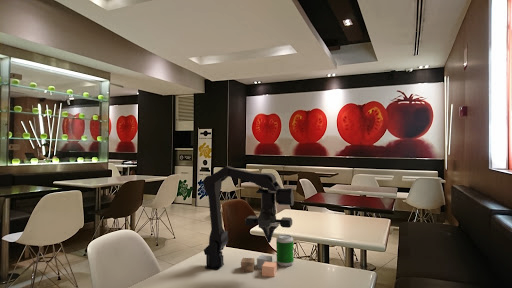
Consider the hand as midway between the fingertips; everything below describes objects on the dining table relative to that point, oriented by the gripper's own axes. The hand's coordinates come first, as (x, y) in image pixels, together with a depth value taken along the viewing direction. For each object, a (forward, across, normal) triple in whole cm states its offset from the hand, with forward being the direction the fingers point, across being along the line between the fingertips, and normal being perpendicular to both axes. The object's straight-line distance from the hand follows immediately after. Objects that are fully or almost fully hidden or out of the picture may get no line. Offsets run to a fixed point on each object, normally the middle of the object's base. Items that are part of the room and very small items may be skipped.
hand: (269, 242), depth 124 cm
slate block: (+13, -4, +7) cm, 15 cm away
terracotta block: (+13, 0, 0) cm, 13 cm away
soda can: (+13, +4, +12) cm, 18 cm away
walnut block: (+13, -10, +2) cm, 16 cm away
